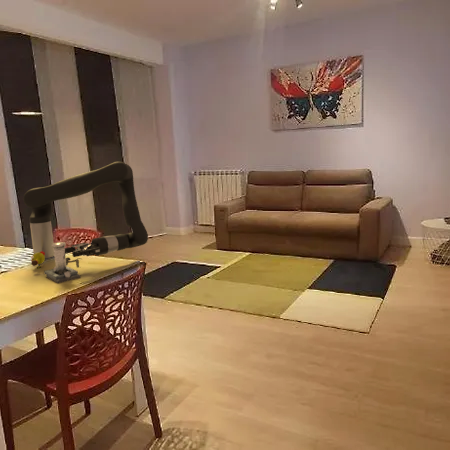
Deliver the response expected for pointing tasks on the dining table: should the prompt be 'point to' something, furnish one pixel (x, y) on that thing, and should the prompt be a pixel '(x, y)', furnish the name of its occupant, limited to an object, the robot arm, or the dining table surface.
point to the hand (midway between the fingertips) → (68, 252)
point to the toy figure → (38, 259)
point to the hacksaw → (73, 261)
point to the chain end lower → (66, 278)
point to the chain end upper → (57, 276)
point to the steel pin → (60, 257)
